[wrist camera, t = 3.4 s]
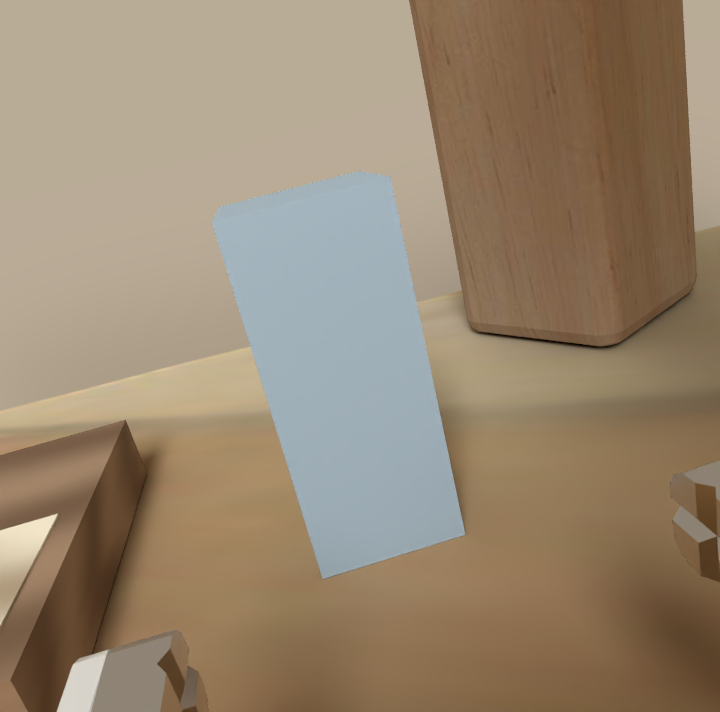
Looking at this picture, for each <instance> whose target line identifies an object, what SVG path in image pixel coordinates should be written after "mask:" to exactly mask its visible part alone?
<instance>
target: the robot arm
mask: <svg viewBox="0 0 720 712" xmlns="http://www.w3.org/2000/svg"><path fill="white" fill-rule="evenodd" d="M670 491H671V498H672V499H674V500H675V501H676V502H677V503H678V504H679V505H680V507H679V509H678V511H677V513H676V515H675V517H674V518H673V528H674V536H675V539H676V542H677V544H678V546H679V549H680V551H681V553H682V555H683V556H684V558H685V559H686V561H687V562H688V563H689V565H690V566H691V567H692V568H693V569H694V570H695V571H696V572H697V573H698V574H699V575H700V576H702V577H706V578H709V579H712V580H715V581H718V582H720V460H718V461H715V462H711V463H708V464H705V465H702V466H699V467H696V468H693V469H689V470H686V471H683V472H680V473H677V474H674V475H673V476H672V479H671V482H670ZM188 655H189V648H188V646H187V644H186V642H185V639H184V637H183V635H182V633H181V632H179V631H177V630H173V631H170V632H166V633H163V634H159V635H156V636H152V637H149V638H145V639H142V640H139V641H135V642H132V643H128V644H125V645H121V646H118V647H114V648H112V649H110V650H105V651H102V652H98V653H95V654H92V655H89V656H85V657H82V658H79V659H78V660H77V661H76V662H75V663H74V664H73V666H72V668H71V671H70V674H69V677H68V680H67V683H66V686H65V688H64V691H63V694H62V697H61V700H60V703H59V706H58V709H57V712H209V708H208V699H207V695H206V692H205V688H204V684H203V682H202V679H201V677H200V674H199V672H198V671H197V670H195V669H193V668H191V667H189V666H187V664H188Z"/></svg>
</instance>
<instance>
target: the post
mask: <svg viewBox="0 0 720 712" xmlns="http://www.w3.org/2000/svg"><path fill="white" fill-rule="evenodd" d="M212 224H213V227H214V230H215V234H216V237H217V240H218V243H219V246H220V250H221V253H222V256H223V260H224V263H225V266H226V269H227V272H228V276H229V279H230V282H231V285H232V289H233V292H234V295H235V298H236V301H237V304H238V308H239V311H240V314H241V318H242V321H243V324H244V327H245V330H246V334H247V337H248V340H249V343H250V347H251V350H252V353H253V356H254V359H255V363H256V366H257V369H258V372H259V375H260V379H261V382H262V385H263V388H264V392H265V395H266V398H267V401H268V404H269V408H270V411H271V414H272V417H273V421H274V424H275V427H276V430H277V433H278V437H279V440H280V443H281V446H282V450H283V453H284V456H285V459H286V462H287V466H288V469H289V472H290V475H291V479H292V482H293V485H294V488H295V491H296V495H297V498H298V501H299V504H300V507H301V511H302V514H303V517H304V520H305V524H306V527H307V530H308V533H309V536H310V540H311V543H312V546H313V549H314V553H315V556H316V559H317V562H318V565H319V569H320V572H321V575H322V578H323V579H325V578H328V577H331V576H335V575H338V574H341V573H344V572H347V571H351V570H354V569H357V568H360V567H363V566H367V565H370V564H373V563H376V562H380V561H383V560H386V559H389V558H392V557H396V556H399V555H402V554H405V553H408V552H412V551H415V550H418V549H421V548H425V547H428V546H431V545H434V544H437V543H441V542H444V541H447V540H450V539H453V538H457V537H460V536H463V535H465V531H464V526H463V521H462V516H461V512H460V507H459V502H458V497H457V493H456V488H455V483H454V478H453V473H452V469H451V464H450V459H449V454H448V450H447V445H446V440H445V435H444V431H443V426H442V421H441V416H440V411H439V407H438V402H437V397H436V392H435V388H434V383H433V378H432V373H431V368H430V364H429V359H428V354H427V349H426V345H425V340H424V335H423V330H422V326H421V321H420V316H419V311H418V306H417V302H416V297H415V292H414V287H413V283H412V278H411V273H410V268H409V263H408V259H407V254H406V249H405V245H404V240H403V235H402V230H401V225H400V221H399V216H398V211H397V207H396V202H395V197H394V192H393V187H392V183H391V178H390V177H389V176H383V175H378V174H373V173H367V172H362V171H359V172H355V173H351V174H346V175H343V176H339V177H335V178H331V179H327V180H323V181H319V182H315V183H311V184H307V185H304V186H300V187H296V188H292V189H288V190H284V191H280V192H276V193H272V194H268V195H264V196H260V197H257V198H253V199H249V200H245V201H241V202H238V203H233V204H229V205H225V206H222V207H219V209H218V211H217V213H216V215H215V217H214V220H213V222H212Z"/></svg>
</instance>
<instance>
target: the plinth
mask: <svg viewBox="0 0 720 712" xmlns="http://www.w3.org/2000/svg"><path fill="white" fill-rule="evenodd" d="M146 474H147V472H146V470H145V467H144V465H143V462H142V460H141V457H140V455H139V452H138V450H137V447H136V445H135V442H134V440H133V437H132V435H131V432H130V430H129V427H128V425H127V422H126V420H124V421H120V422H117V423H113V424H110V425H106V426H103V427H99V428H95V429H92V430H88V431H85V432H81V433H78V434H74V435H71V436H67V437H64V438H60V439H56V440H53V441H49V442H46V443H42V444H39V445H35V446H32V447H28V448H25V449H21V450H17V451H14V452H10V453H7V454H3V455H0V712H57V709H58V706H59V703H60V700H61V697H62V694H63V691H64V688H65V686H66V683H67V680H68V677H69V674H70V671H71V668H72V666H73V664H74V663H75V662H76V661H77V660H78V659H79V658H82V657H85V656H89V655H92V652H93V648H94V645H95V642H96V638H97V635H98V632H99V629H100V625H101V622H102V619H103V616H104V612H105V609H106V606H107V602H108V599H109V596H110V593H111V589H112V586H113V583H114V579H115V576H116V573H117V570H118V566H119V563H120V560H121V556H122V553H123V550H124V547H125V543H126V540H127V537H128V533H129V530H130V527H131V524H132V520H133V517H134V514H135V511H136V507H137V504H138V501H139V497H140V494H141V491H142V488H143V484H144V481H145V478H146Z"/></svg>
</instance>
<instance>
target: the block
mask: <svg viewBox="0 0 720 712" xmlns="http://www.w3.org/2000/svg"><path fill="white" fill-rule="evenodd" d="M409 1H410V7H411V12H412V17H413V24H414V29H415V34H416V40H417V45H418V50H419V56H420V61H421V67H422V73H423V78H424V84H425V89H426V95H427V99H428V106H429V111H430V116H431V122H432V127H433V133H434V139H435V144H436V149H437V155H438V160H439V166H440V171H441V177H442V182H443V188H444V193H445V198H446V204H447V209H448V215H449V221H450V226H451V231H452V237H453V242H454V247H455V253H456V259H457V264H458V270H459V275H460V280H461V286H462V292H463V297H464V303H465V308H466V314H467V319H468V321H469V323H470V325H471V327H472V328H474V329H475V330H477V331H480V332H488V333H496V334H504V335H512V336H520V337H528V338H537V339H545V340H553V341H561V342H569V343H577V344H585V345H593V346H610V345H613V344H617V343H620V342H621V341H623V340H624V339H625V338H627V337H628V336H630V335H631V334H632V333H634V332H635V331H636V330H638V329H639V328H641V327H642V326H643V325H645V324H646V323H648V322H649V321H650V320H652V319H653V318H655V317H656V316H657V315H659V314H660V313H661V312H663V311H664V310H666V309H667V308H668V307H670V306H671V305H673V304H674V303H675V302H677V301H678V300H679V299H681V298H682V297H684V296H685V295H686V294H688V293H689V292H691V291H692V289H693V286H694V284H695V281H696V277H697V273H696V253H695V234H694V216H693V215H694V214H693V196H692V176H691V156H690V138H689V118H688V98H687V79H686V59H685V40H684V21H683V1H682V0H409Z"/></svg>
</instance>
